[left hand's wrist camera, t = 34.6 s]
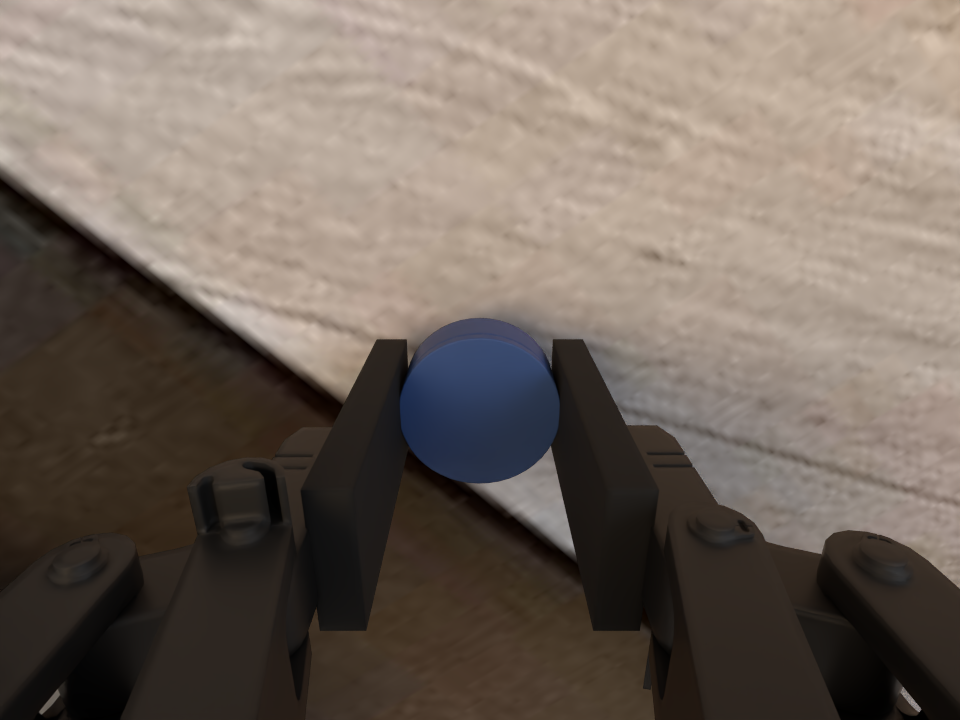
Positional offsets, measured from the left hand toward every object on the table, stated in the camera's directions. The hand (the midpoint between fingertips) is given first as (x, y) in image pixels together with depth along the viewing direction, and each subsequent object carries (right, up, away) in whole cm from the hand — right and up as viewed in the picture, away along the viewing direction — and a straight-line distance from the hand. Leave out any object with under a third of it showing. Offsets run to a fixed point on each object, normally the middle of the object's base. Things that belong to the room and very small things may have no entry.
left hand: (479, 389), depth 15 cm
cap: (0, 0, -1) cm, 1 cm away
